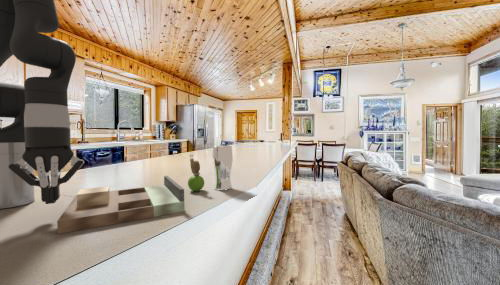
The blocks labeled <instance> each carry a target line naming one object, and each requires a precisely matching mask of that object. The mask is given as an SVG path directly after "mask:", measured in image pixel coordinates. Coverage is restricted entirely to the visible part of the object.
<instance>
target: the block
mask: <svg viewBox="0 0 500 285" xmlns="http://www.w3.org/2000/svg"><path fill="white" fill-rule="evenodd" d="M109 191H110V186H99V187H90V188H89V187H88V188H81V189H79V191H78V193H77V194H76V195H77V208H79V207H87V206H94V205H101V204H108V203H109V198H110V196H109Z"/></svg>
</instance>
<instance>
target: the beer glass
mask: <svg viewBox="0 0 500 285" xmlns="http://www.w3.org/2000/svg"><path fill="white" fill-rule="evenodd" d="M233 158H234V157H233V146H232V145H212V165H213V172H214V178H215V180H214V181H215V183H214V188H215V189H219V190H218V191H226V190H225V189H229V190H231V189H232V188H233V186H232V181H231V175H232V169H233ZM230 188H231V189H230ZM215 189H214V190H215Z"/></svg>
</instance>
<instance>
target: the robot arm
mask: <svg viewBox="0 0 500 285" xmlns="http://www.w3.org/2000/svg"><path fill="white" fill-rule="evenodd" d="M59 26H60V22H59V17H58V12H57V7H56V3H55V0H0V68H1V67H2V66H3V64H5V63H6V61H7V60H8V59H10V58H11V57H13V56H14V57H15V58H16V59H17V60H18V61H20V62H21V63H24V64H26V65H29V66H35V67H38V68H43V69H48V70H50V72H49V75H48V76H30V77H26V79H24V80H25V81H24V85H20V84H11V83H5V82H0V118H10V119H13V118H14V121H12V123H11V124H8V125H6V126H4V127H1V128H0V209H9V208H14V207H19V206H25V205H27V204H31V203H33V202H35V200H36V199H35V187H38V188H40V190H41V192H40V195H41V197H40V198H41V201H42V202H43V203H44V204H45V205H50V204H55V203H56V202H57V201H58V200H59V198H60V196H61V194H60V193H61V192H60V186H61V184H65V183H67V182H69V181H70V180H71V178H72V177H74V175H75V174H76V173H77V172H78V171H79V169H80V168H82V167H83V165H84V164H85V160H84V159H80V158H79V157H77V156H75V155H74V152H73V150H72V147H71V146H72V144H71V121H70V119H71V118H70V113H69V108H68V107H69V105H68V104H69V103H68V88H69V85H70V81H71V78H72V77H71V76H72V73H73V71H74V68H75V66H76V65H75V64H76V62H77V59H76V53H75V51H74V49H73V47H72V46H71V45H70V44H69V43H67V42H66V41H64V40H61V39H57V38H55V37H52V36H50V35H46V34H50V33H51V34H53V33H54V32H57V30H58V29H59ZM70 161H71V162H70ZM69 163H70V166H71V167H70V168H69V170H68V171H67V172H66V173H65V174H64V175H63V177H61V175H62V169H64V168H65V167H66V166H67V165H68V164H69ZM35 171H36V172H37V176H38V177H37V176H36V175H35Z"/></svg>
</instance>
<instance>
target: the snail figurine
mask: <svg viewBox="0 0 500 285" xmlns="http://www.w3.org/2000/svg"><path fill="white" fill-rule="evenodd" d="M189 157H190V160H189V161H190V170H191V174H193V175H191V176H190V177H189V179H188V181H187V186H188V188H189V189H190V191H193V192H198V191H199V192H200V191H201V190H202V189H203V188H204V186H205V179H204V178H203V176H201V175H200V169H201V164H200V161H199V160H197V159H196V160H194V158H193V157H194V154H190V155H189Z"/></svg>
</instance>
